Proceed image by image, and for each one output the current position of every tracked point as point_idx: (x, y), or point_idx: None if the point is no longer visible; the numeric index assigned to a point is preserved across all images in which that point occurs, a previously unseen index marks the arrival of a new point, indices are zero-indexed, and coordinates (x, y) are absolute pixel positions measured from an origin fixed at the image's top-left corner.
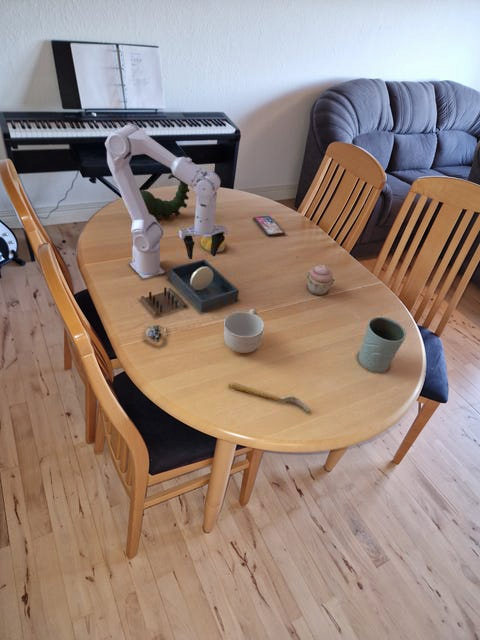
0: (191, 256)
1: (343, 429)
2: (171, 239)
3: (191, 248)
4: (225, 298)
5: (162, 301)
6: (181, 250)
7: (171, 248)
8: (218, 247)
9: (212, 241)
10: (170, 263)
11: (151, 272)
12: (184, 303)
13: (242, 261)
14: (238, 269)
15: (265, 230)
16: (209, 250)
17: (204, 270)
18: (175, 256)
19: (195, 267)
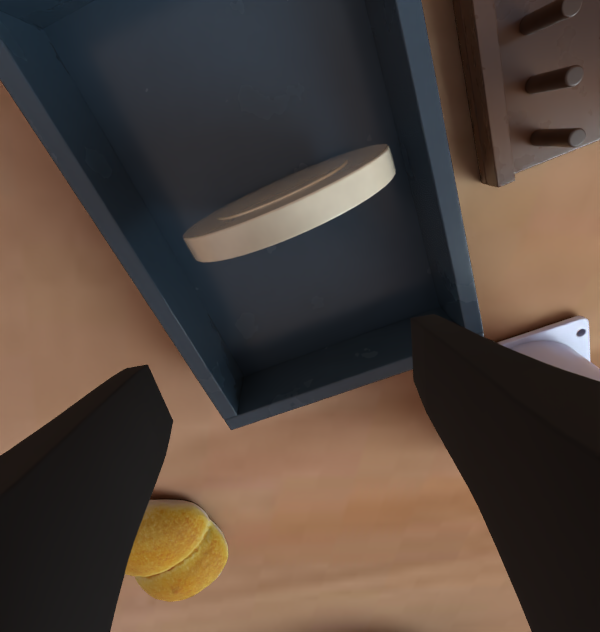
0: (441, 326)
1: None
2: (346, 565)
3: (553, 397)
4: None
5: (590, 46)
6: (321, 509)
7: (361, 520)
8: (4, 455)
9: (104, 575)
10: (396, 430)
11: (543, 349)
12: None
13: (23, 439)
14: (41, 378)
15: None
16: (192, 508)
17: (269, 207)
18: (358, 474)
19: (292, 375)
